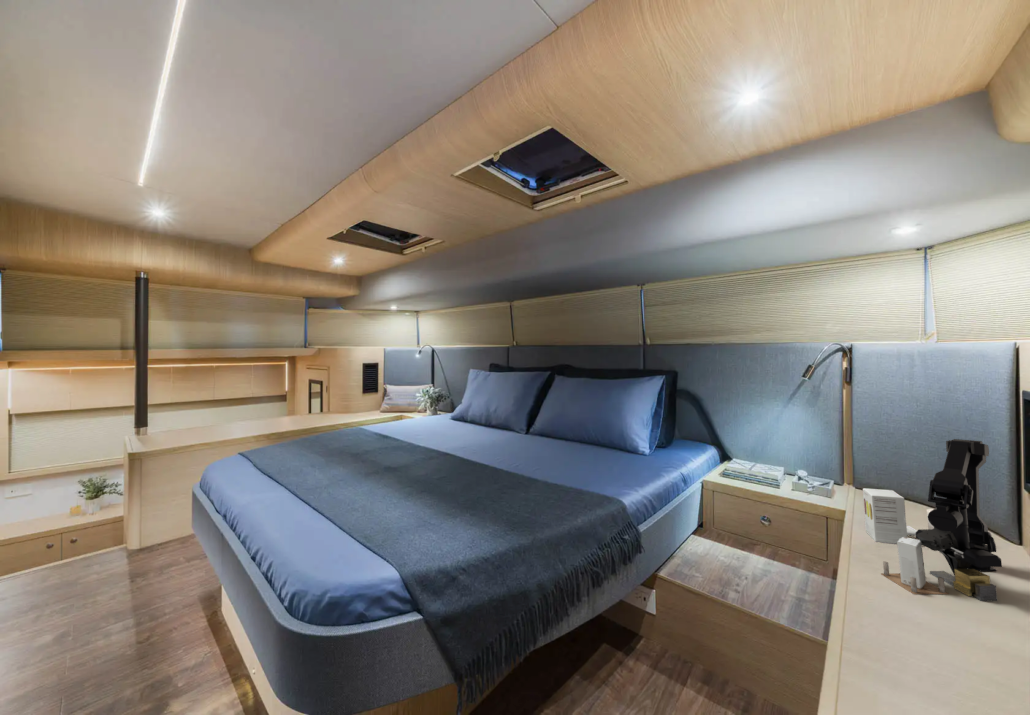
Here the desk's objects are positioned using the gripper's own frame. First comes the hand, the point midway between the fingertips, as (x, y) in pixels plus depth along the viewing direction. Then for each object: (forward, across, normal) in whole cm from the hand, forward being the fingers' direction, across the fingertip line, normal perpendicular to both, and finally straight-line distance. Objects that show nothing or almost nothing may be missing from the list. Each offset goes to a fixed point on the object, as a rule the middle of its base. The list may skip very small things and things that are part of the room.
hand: (957, 576), depth 114 cm
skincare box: (+2, -1, -11) cm, 12 cm away
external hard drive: (+3, -39, +14) cm, 42 cm away
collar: (+2, +4, 0) cm, 5 cm away
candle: (+2, -29, +22) cm, 36 cm away
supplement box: (+3, -32, +6) cm, 32 cm away
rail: (+2, +1, 0) cm, 2 cm away
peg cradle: (+2, -1, -12) cm, 12 cm away
